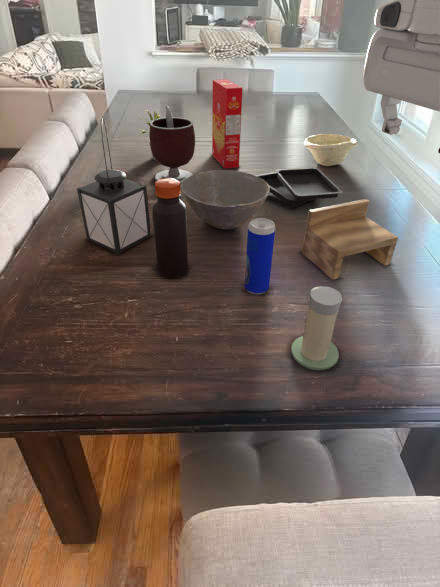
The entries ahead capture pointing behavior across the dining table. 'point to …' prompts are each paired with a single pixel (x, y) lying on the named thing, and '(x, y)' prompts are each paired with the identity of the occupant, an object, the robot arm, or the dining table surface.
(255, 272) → the beverage can
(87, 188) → the lantern
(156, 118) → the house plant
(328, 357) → the coaster
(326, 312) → the cylinder
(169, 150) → the mate gourd
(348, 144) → the bowl
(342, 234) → the wooden stand
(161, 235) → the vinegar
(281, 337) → the dining table surface
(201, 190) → the ceramic bowl
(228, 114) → the food packaging
